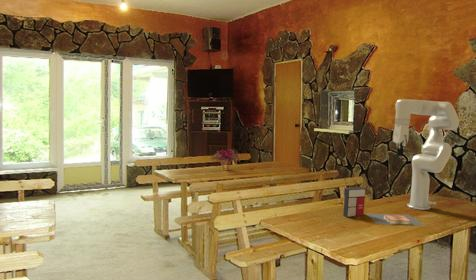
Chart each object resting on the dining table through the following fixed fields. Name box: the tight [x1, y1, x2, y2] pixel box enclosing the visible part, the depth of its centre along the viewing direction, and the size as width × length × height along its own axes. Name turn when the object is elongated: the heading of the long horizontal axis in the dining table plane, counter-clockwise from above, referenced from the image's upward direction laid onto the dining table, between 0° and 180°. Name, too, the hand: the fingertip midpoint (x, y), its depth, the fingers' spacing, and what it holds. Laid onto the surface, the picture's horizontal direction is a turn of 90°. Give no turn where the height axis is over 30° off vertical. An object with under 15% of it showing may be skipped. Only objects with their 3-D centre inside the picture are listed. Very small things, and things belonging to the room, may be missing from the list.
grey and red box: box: [342, 186, 366, 218], centre depth 221 cm, size 11×4×15 cm, turn 112°
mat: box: [364, 212, 426, 226], centre depth 216 cm, size 24×19×1 cm
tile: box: [384, 215, 411, 225], centre depth 211 cm, size 10×2×9 cm
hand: (399, 155), depth 228 cm, fingers closed
